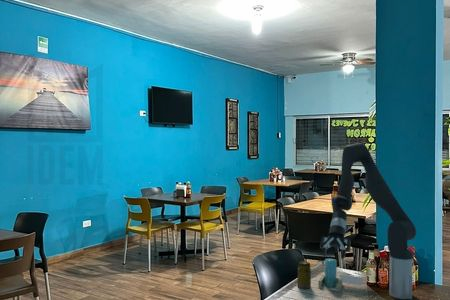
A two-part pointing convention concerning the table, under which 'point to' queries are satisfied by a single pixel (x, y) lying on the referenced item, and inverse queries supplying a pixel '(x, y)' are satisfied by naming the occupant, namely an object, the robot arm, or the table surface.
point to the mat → (351, 279)
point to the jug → (330, 272)
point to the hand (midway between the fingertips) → (333, 256)
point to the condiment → (304, 275)
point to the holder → (322, 285)
